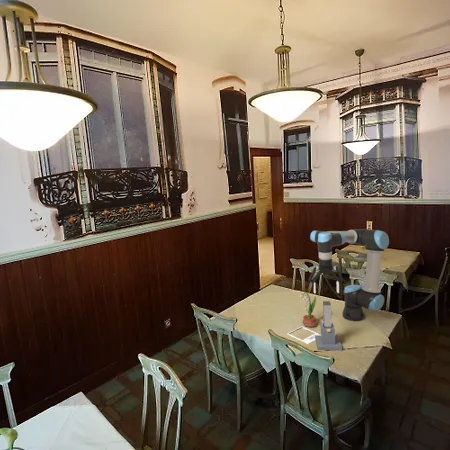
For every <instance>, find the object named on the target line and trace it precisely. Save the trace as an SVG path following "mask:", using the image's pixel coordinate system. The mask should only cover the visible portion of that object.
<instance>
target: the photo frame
mask: <svg viewBox="0 0 450 450" xmlns="http://www.w3.org/2000/svg"><path fill="white" fill-rule="evenodd" d="M300 328H302V329H304V330H306V331H309V332H311V333H313V334H311V335H310V336H308V337H306V338H304V339H301V338H299V337H296V336H295V335H293V334H290V333H292V332H295V331H296V330H299V329H300ZM286 334H287V335H288V336H290V337H292V338H295V339H296V340H298V341H300V342H302V343H305V344H307V345H310V344H312V343H313V342H316V340H315V335H321V333H318V332H317V331H314V330H311V329H309V328H308V327H306V326H302V325H301V326H299V327H297V328H295V329H293V330H291V331H289V332H287V333H286Z"/></svg>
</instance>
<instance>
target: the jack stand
mask: <svg viewBox="0 0 450 450" xmlns="http://www.w3.org/2000/svg"><path fill="white" fill-rule="evenodd" d="M319 323H320V322H319ZM320 334H321V335H315V340H316V341H315V344H316V348H317V350H318V351H343V346H342V344H341V342H340V338H339V336H338V335H336V329H335V326H334V323H332V322H331V328H324V322H323V323H322V322H321V323H320Z"/></svg>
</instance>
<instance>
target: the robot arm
mask: <svg viewBox="0 0 450 450" xmlns="http://www.w3.org/2000/svg"><path fill="white" fill-rule="evenodd" d="M309 239H310V241H312V243H313V242H314V243H317V245H318V246H317V247H318V266H317V265H313V270H312V271H311V273H310V276H309V277H308V282H309V283H311V288H313V293H314V294H316V292H317V291H316V281H317V280H318V279H319V277H320V276H321V275H322V274H323V275H329V274H331V276H333V277H334V278H335V280H336V293H337V294H340V288H341V287H342V286H341V285H342V282H344V281H345V279H344V278H343V276H342V274H341V272H340V271H339V267H338V265H336V264H335V265H333V259H332V258H333V251H332V250H333V249H332V248H333V247H338V246H341V245H344V244H346V243H348V244H355V245H359V246H364V248H365V251H366V252H367V253H366V267H365V278H364V279H365V281H364V287H362V285H360V284H350V285H346V286H345V287H344V291H343V293H344V307H343V310H342V315H341V316H342V318H344V319H345V320H347V321H351V322H360V321H363V320H365V318H366V317H365V316H366V314H365V311H364V308H365V309H368V310H370V311H373V312H377V311H379V310H381V309H382V307H383V305H384V303H385V297H384V295H382V293H381V292H382V290H381V289H379V287H380V279H381V277H380V276H381V275H380V274H381V265H382V264H381V263H382V254H383V253H384V252H385V250H386V249H387V248H388V246H389V244H390V239H389V235H388V233H386V232H385V231H383V230H379V229H377V230H376V229H367V228H358V229H357V228H356V229H349V230H341V231H339V230H329V231H328V230H327V231H326V230H312V232H311V233H310V238H309ZM333 269H334V271H335V272H336V273H337V274H338V276H337V275H336V274H335V273H334V271H333ZM316 271H318V272H317V273H316Z"/></svg>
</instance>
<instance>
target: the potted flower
mask: <svg viewBox="0 0 450 450" xmlns="http://www.w3.org/2000/svg"><path fill="white" fill-rule="evenodd" d="M304 295H305V296H304ZM303 296H304V297H303ZM299 298H302V301H303V302H304V301H306V305H305V308H304V311H307V313H308V314H305V315H304V316H303V320H302V324H303V326H304V327H306V328H314V327H316V326H317V325H318V321H317V317H316V316H315V315H313V311H314V309H315V307H316V302H317V296H314V298H313V300H311V297H310V295H309V293H308V292H303V294H300V295H299ZM308 305H309V306H308ZM307 306H308V308H307Z"/></svg>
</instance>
